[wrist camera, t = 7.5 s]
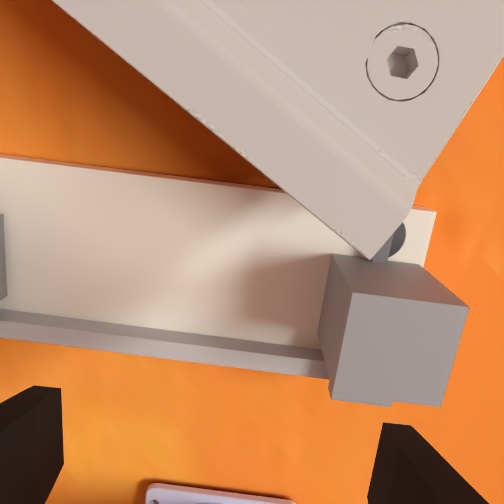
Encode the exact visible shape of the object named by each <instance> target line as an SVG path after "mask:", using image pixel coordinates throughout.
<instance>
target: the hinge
mask: <svg viewBox="0 0 504 504" xmlns="http://www.w3.org/2000/svg"><path fill="white" fill-rule="evenodd" d="M51 1H52V2H53V3H55V4H56V5H57V6H58V7H60V8H61V9H62V10H63V11H64V12H66V13H67V14H68V15H69V16H71V17H72V18H73V19H74V20H75V21H77V22H78V23H79V24H80V25H82V26H83V27H84V28H85V29H86V30H88V31H89V32H90V33H91V34H93V35H94V36H95V37H96V38H97V39H99V40H100V41H101V42H102V43H104V44H105V45H106V46H107V47H108V48H110V49H111V50H112V51H113V52H115V53H116V54H117V55H118V56H120V57H121V58H122V59H123V60H124V61H126V62H127V63H128V64H129V65H131V66H132V67H133V68H134V69H135V70H137V71H138V72H139V73H140V74H142V75H143V76H144V77H145V78H146V79H148V80H149V81H150V82H151V83H153V84H154V85H155V86H156V87H157V88H159V89H160V90H161V91H162V92H164V93H165V94H166V95H167V96H168V97H170V98H171V99H172V100H173V101H175V102H176V103H177V104H178V105H179V106H181V107H182V108H183V109H184V110H186V111H187V112H188V113H189V114H190V115H192V116H193V117H194V118H195V119H197V120H198V121H199V122H200V123H201V124H203V125H204V126H205V127H206V128H208V129H209V130H210V131H211V132H212V133H214V134H215V135H216V136H217V137H219V138H220V139H221V140H222V141H223V142H225V143H226V144H227V145H228V146H230V147H231V148H232V149H233V150H234V151H236V152H237V153H238V154H239V155H241V156H242V157H243V158H244V159H245V160H247V161H248V162H249V163H250V164H252V165H253V166H254V167H255V168H256V169H258V170H259V171H260V172H261V173H263V174H264V175H265V176H266V177H267V178H269V179H270V180H271V181H272V182H274V183H275V184H276V185H277V186H278V187H280V188H281V189H282V190H283V191H285V192H286V193H287V194H288V195H289V196H291V197H292V198H293V199H294V200H296V201H297V202H298V203H299V204H300V205H302V206H303V207H304V208H305V209H307V210H308V211H309V212H310V213H311V214H313V215H314V216H315V217H316V218H318V219H319V220H320V221H321V222H322V223H324V224H325V225H326V226H327V227H329V228H330V229H331V230H332V231H334V232H335V233H336V234H337V235H338V236H340V237H341V238H342V239H343V240H345V241H346V242H347V243H348V244H349V245H351V246H352V247H353V248H354V249H356V250H357V251H358V252H359V253H360V254H362V255H363V256H364V257H365V258H367V259H368V260H371V259H372V257H373V256H374V255H375V254H376V253H377V252H378V250H379V249H380V248H381V247H382V246H383V245H384V243H385V242H386V241H387V240H388V239H389V238H390V236H391V235H392V234H393V233H394V232H395V231H396V229H397V228H398V227H399V226H400V225H401V224H402V222H403V221H404V220H405V218H406V217H407V215H408V214H409V212H410V210H411V208H412V206H413V202H414V199H415V195H416V192H417V189H418V187H419V185H420V183H421V181H422V180H423V178H424V177H425V175H426V174H427V172H428V171H429V169H430V168H431V166H432V165H433V163H434V162H435V160H436V159H437V157H438V156H439V154H440V152H441V151H442V149H443V148H444V146H445V145H446V143H447V142H448V140H449V139H450V137H451V136H452V134H453V133H454V131H455V130H456V128H457V127H458V125H459V123H460V122H461V120H462V119H463V117H464V116H465V114H466V113H467V111H468V110H469V108H470V107H471V105H472V104H473V102H474V101H475V99H476V98H477V96H478V94H479V93H480V91H481V90H482V88H483V87H484V85H485V84H486V82H487V81H488V79H489V78H490V76H491V75H492V73H493V72H494V70H495V69H496V67H497V65H498V64H499V62H500V61H501V59H502V58H503V56H504V0H51Z"/></svg>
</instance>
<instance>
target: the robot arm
mask: <svg viewBox="0 0 504 504" xmlns="http://www.w3.org/2000/svg"><path fill="white" fill-rule="evenodd" d="M63 464H64V456H63V430H62V403H61V388H53V387H43V386H32V387H30V388H28V389H26V390H24V391H22V392H20V393H18V394H17V395H15V396H13V397H11V398H9V399H7V400H6V401H4V402H2V403H0V504H45V502H46V500H47V498H48V496H49V494H50V492H51V490H52V488H53V486H54V484H55V482H56V479H57V477H58V475H59V473H60V471H61V469H62V467H63ZM367 498H368V504H489V503H488V502H487V501H486V500H485V499H484V498H483V497H482V496H481V495H480V494H479V493H478V492H477V491H476V490H475V489H474V488H473V487H472V486H471V485H470V484H469V483H468V482H467V481H466V480H465V479H464V478H463V477H462V476H461V475H460V474H459V473H458V472H457V471H456V470H455V469H454V468H453V467H452V466H451V465H450V464H449V463H448V462H447V461H446V460H445V459H444V458H443V457H442V456H441V455H440V454H439V453H438V452H437V451H436V450H435V449H434V448H433V447H432V446H431V445H430V444H429V443H428V442H427V441H426V440H425V439H424V438H423V437H422V436H421V435H420V434H419V433H418V432H417V431H416V430H415V429H414V428H413V427H412V426H410V425H401V424H391V423H383V426H382V430H381V435H380V440H379V444H378V449H377V454H376V458H375V463H374V468H373V472H372V477H371V482H370V486H369V491H368V496H367ZM154 500H157V501H154ZM145 504H296V503H295V502H294V501H291V500H286V499H278V498H270V497H263V496H255V495H247V494H239V493H232V492H224V491H216V490H208V489H201V488H193V487H185V486H177V485H170V484H162V483H152V484H150V485H149V486H148V489H147V492H146V497H145Z"/></svg>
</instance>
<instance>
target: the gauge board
mask: <svg viewBox="0 0 504 504" xmlns="http://www.w3.org/2000/svg"><path fill="white" fill-rule="evenodd" d="M436 213H437V212H435V211H433V210H431V209H429V208H426V207H421V206H412V208H411V210H410V212H409V214H408V215H407V217H406V218H405V220H404V221H403V222H402V224H401V225H400V226H399V227H398V228H397V229H396V231H395V232H394V233H393V234H392V235H391V236H390V238H389V239H388V240H387V241H386V242H385V243H384V245H383V246H382V247H381V248H380V249H379V250H378V252H377V253H376V254H375V255H374V256H373V257H372V259H371V260H368V259H367V258H365V257H364V256H363V255H362V254H360V253H359V252H358V251H357V250H356V249H354V248H353V247H352V246H351V245H349V244H348V243H347V242H346V241H345V240H343V239H342V238H341V237H340V236H338V235H337V234H336V233H335V232H334V231H332V230H331V229H330V228H329V227H327V226H326V225H325V224H324V223H322V222H321V221H320V220H319V219H318V218H316V217H315V216H314V215H313V214H311V213H310V212H309V211H308V210H307V209H305V208H304V207H303V206H302V205H300V204H299V203H298V202H297V201H296V200H294V199H293V198H292V197H291V196H289V195H288V194H287V193H286V192H285V191H283V190H282V189H276V188H268V187H260V186H252V185H244V184H236V183H228V182H220V181H212V180H204V179H196V178H188V177H180V176H172V175H164V174H156V173H148V172H140V171H132V170H124V169H116V168H108V167H100V166H92V165H84V164H76V163H68V162H60V161H52V160H44V159H36V158H28V157H20V156H12V155H4V154H0V214H4V234H5V255H6V275H7V297H5V298H4V299H2V300H0V338H8V339H16V340H24V341H32V342H39V343H47V344H55V345H63V346H71V347H79V348H87V349H94V350H102V351H110V352H118V353H126V354H134V355H142V356H149V357H157V358H165V359H173V360H181V361H189V362H197V363H204V364H212V365H220V366H228V367H236V368H244V369H252V370H259V371H267V372H275V373H283V374H291V375H299V376H307V377H314V378H322V379H329V386H328V389H329V393H330V397H331V399H332V400H340V401H348V402H355V403H363V404H371V405H379V406H387V407H391V406H392V402H393V401H396V402H404V403H412V404H420V405H428V406H436V407H441V404H442V401H443V397H444V394H445V390H446V387H447V383H448V380H449V377H450V373H451V370H452V366H453V363H454V359H455V356H456V352H457V349H458V345H459V342H460V338H461V335H462V331H463V328H464V324H465V321H466V317H467V314H468V310H469V306H467V305H466V304H465V303H464V302H463V301H462V300H460V299H459V298H458V297H457V296H456V295H455V294H453V293H452V292H451V291H450V290H449V289H447V288H446V287H445V286H444V285H443V284H442V283H440V282H439V281H438V280H437V279H436V278H435V277H433V276H432V275H431V274H430V273H429V272H427V271H426V270H425V269H424V268H423V266H424V262H425V258H426V254H427V249H428V245H429V241H430V237H431V233H432V229H433V225H434V221H435V217H436Z"/></svg>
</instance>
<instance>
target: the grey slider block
mask: <svg viewBox="0 0 504 504" xmlns="http://www.w3.org/2000/svg"><path fill="white" fill-rule="evenodd" d="M5 297H7V275H6V255H5V234H4V214H0V300H2V299H4V298H5Z"/></svg>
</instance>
